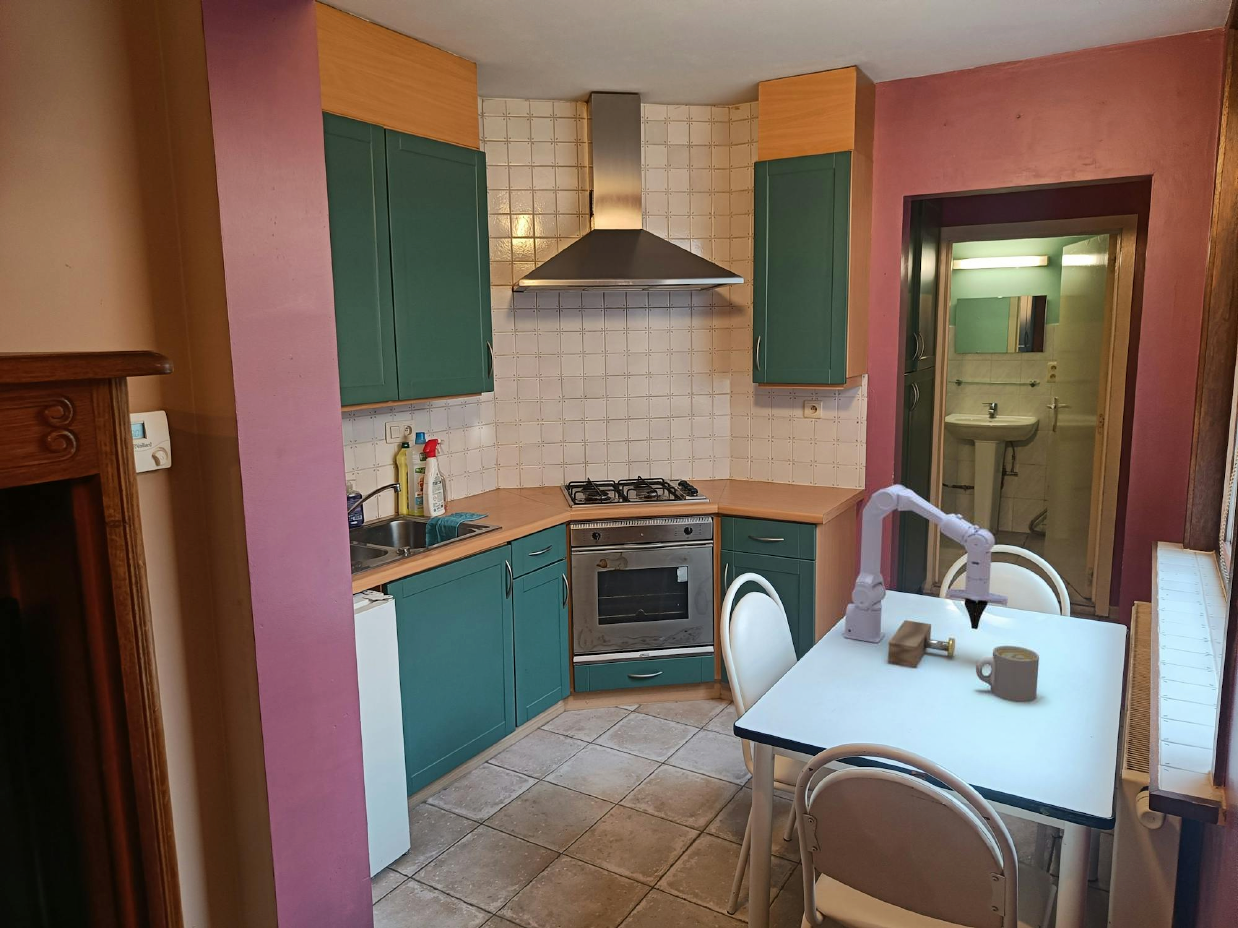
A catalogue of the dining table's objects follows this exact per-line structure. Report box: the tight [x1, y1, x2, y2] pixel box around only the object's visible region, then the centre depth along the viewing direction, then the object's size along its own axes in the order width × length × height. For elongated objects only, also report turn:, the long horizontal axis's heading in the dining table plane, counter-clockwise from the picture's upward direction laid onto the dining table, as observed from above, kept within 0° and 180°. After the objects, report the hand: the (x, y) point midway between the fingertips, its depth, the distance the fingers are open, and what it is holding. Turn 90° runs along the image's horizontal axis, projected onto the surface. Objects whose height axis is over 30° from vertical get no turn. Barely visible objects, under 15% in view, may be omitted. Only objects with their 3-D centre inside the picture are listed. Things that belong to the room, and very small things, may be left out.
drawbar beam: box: [887, 619, 932, 669], centre depth 232 cm, size 7×20×6 cm, turn 151°
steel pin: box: [924, 637, 956, 658], centre depth 230 cm, size 9×5×5 cm, turn 61°
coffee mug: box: [975, 645, 1040, 703], centre depth 206 cm, size 13×10×10 cm
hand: (974, 627), depth 225 cm, fingers closed
